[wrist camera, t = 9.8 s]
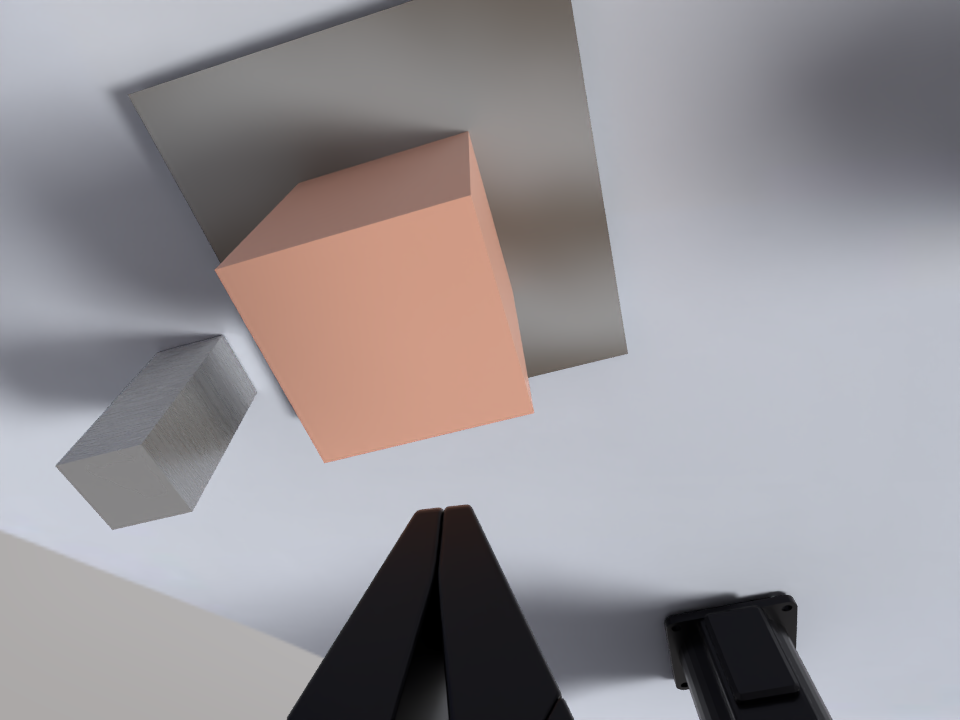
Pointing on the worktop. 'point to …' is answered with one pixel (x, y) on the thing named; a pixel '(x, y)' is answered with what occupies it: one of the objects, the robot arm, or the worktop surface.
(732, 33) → the worktop surface
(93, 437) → the post steel
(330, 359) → the salmon pink block
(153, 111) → the plate
